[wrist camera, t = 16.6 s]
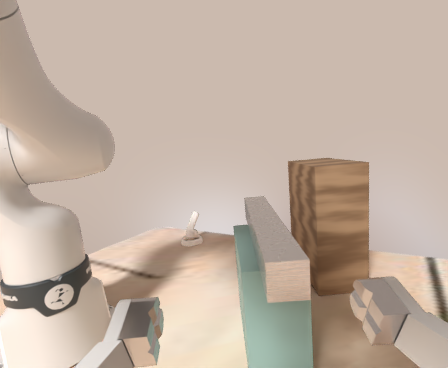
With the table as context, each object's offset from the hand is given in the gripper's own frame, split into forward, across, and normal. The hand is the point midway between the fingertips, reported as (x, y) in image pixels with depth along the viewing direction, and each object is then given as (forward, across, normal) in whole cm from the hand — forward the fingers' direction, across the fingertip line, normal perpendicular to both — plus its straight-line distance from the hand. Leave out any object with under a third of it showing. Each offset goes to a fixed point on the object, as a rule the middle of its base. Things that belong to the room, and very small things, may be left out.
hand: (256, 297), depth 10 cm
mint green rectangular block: (+16, -5, +32) cm, 36 cm away
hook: (+59, +12, +47) cm, 76 cm away
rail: (+21, -5, +16) cm, 27 cm away
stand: (+34, -22, +37) cm, 55 cm away
